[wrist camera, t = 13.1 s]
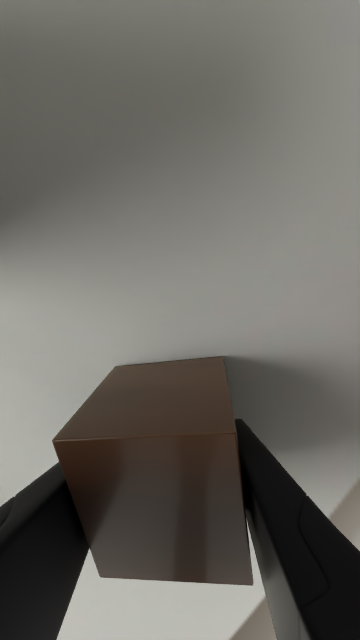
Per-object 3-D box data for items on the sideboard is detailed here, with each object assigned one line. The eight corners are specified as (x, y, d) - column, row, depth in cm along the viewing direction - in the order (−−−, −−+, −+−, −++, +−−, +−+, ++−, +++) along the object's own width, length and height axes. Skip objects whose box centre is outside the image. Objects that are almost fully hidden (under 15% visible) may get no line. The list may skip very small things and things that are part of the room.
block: (234, 459, 10) (253, 586, 6) (138, 461, 10) (99, 578, 7) (222, 355, 9) (236, 431, 5) (114, 366, 9) (50, 440, 5)
